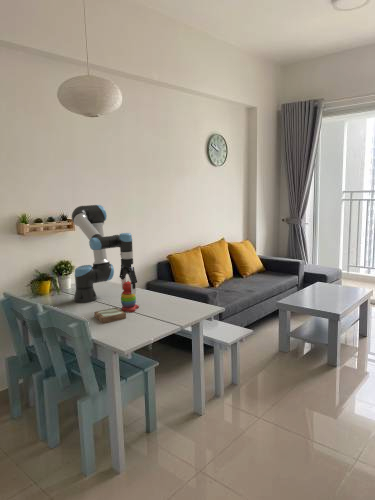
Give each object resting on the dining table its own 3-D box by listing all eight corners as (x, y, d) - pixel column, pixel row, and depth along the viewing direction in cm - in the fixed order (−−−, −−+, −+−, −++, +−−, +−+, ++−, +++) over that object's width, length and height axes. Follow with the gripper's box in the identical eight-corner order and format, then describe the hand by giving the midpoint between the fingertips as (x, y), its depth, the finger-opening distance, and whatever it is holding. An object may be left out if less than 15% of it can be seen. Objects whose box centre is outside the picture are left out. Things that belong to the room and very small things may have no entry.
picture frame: (94, 316, 230) (94, 311, 229) (116, 312, 237) (116, 307, 237) (103, 323, 218) (103, 318, 218) (126, 318, 226) (125, 313, 225)
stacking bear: (134, 312, 236) (132, 284, 233) (118, 311, 238) (117, 283, 235) (139, 306, 247) (138, 280, 244) (124, 306, 249) (123, 279, 246)
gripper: (113, 256, 245) (115, 288, 248) (130, 261, 224) (132, 296, 228) (123, 254, 249) (125, 286, 252) (141, 260, 229) (143, 294, 232)
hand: (128, 291), depth 240 cm, fingers open, 13 cm apart
